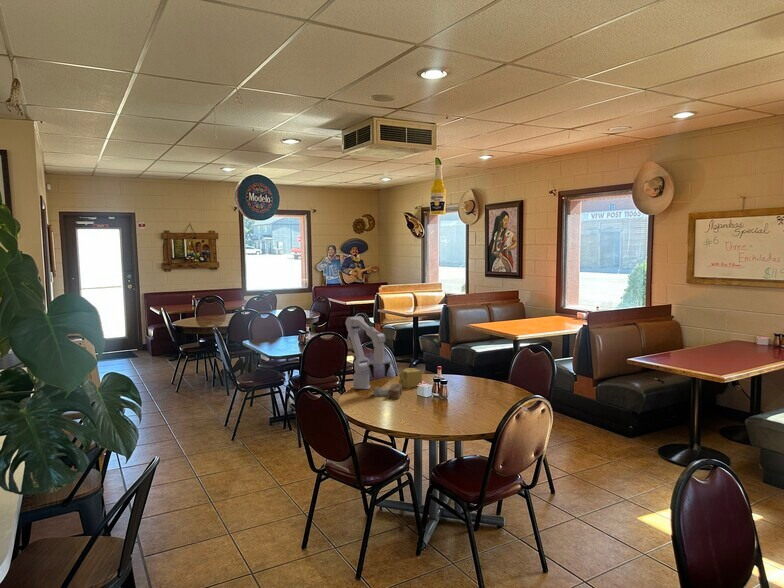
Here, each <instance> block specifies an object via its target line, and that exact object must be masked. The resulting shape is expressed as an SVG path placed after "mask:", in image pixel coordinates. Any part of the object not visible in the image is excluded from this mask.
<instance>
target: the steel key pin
mask: <svg viewBox="0 0 784 588" xmlns="http://www.w3.org/2000/svg"><path fill="white" fill-rule="evenodd" d="M388 390H389V388H387V389H386V388H380V386H375V387H374V389H373V397H379V396H380V397H388Z"/></svg>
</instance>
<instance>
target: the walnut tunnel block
mask: <svg viewBox="0 0 784 588" xmlns="http://www.w3.org/2000/svg"><path fill="white" fill-rule="evenodd" d="M388 389H389V390H388V396H387V398H388V399H390V400H399V399H400V397H401V395H402V394H403V386H402V384H399V383H398V384H397V383H392V384H391V385H390V387H389V388H388Z"/></svg>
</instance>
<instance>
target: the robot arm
mask: <svg viewBox="0 0 784 588" xmlns="http://www.w3.org/2000/svg"><path fill="white" fill-rule="evenodd" d="M344 324H345V326H346V330H347V332H348V335H349V338H350V339H349V340H350V341H351V346H352V349H353V352H354V356H355V360H354V361H353V367H354V368H353V369H354V373H353V383H352V384H353V389H354V390H355V389H356V390H358V389H359V390H369V389H370V388H371V387H372V385H371V384H370V374H371V378H374V377H375V374H374V373H375V372H374V371H375V366H377V365H379V366H380V365H384V366H383V367H384V377H385V378H387V375H388V372H389V370H390V367H391V365H392V364H393V363H392V360H389V359H387V360H385V343H386V341H387V337H386V334H385V333H384V332H380V331H378V330H377V329H376V328H375V327H374V326H369V324H368V323H367V322H366V321H365V319H364V317H363V316H362V315H358V316H348V317H346V319H345V322H344ZM361 329H362V330H363V331H365V333H366V336H368V337H369V338H370V339H371V341H372V344H373V345H372V347H373V349H374V350H373V351H374V352H373V355H374V356H373V359H374V360H371V361H370V359H369V358H368V357H366V356H365V352H364V349H363V346H362V343H361V339H360V335H359V333H358V332H359V331H360V330H361Z"/></svg>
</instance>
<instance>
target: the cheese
mask: <svg viewBox="0 0 784 588" xmlns="http://www.w3.org/2000/svg"><path fill="white" fill-rule="evenodd" d="M398 375H399V378H398V379H399V380H398V384H402V387H403V388H406V389H411V388H417V387H416V386H417V385H418V384H419V383H421V384H422V383H423V382H422V381H423V380H422V379H423V378H422V377H423V376H422V371H421V370H420V369H417V368H415V367H409V368H407V367H406V368H404V369H403V370H401V371H400V372H399V374H398Z"/></svg>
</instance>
